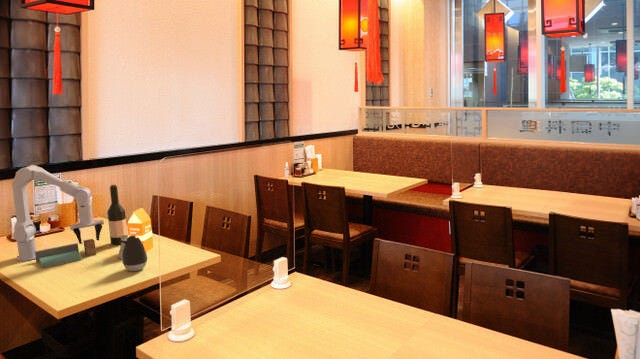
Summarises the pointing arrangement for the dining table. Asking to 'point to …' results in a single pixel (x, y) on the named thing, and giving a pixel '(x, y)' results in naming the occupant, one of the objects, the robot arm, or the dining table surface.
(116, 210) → the wine bottle
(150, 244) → the orange juice
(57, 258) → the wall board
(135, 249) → the black egg shape
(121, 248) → the flask
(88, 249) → the walnut block
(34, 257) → the robot arm
